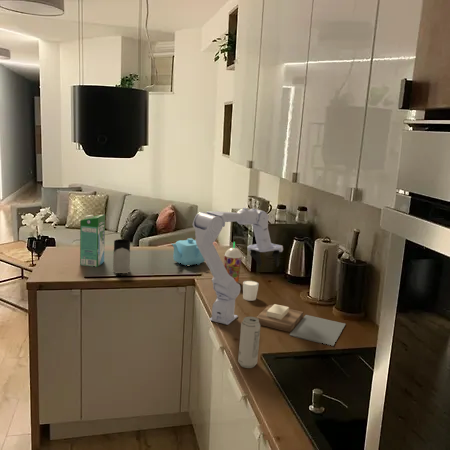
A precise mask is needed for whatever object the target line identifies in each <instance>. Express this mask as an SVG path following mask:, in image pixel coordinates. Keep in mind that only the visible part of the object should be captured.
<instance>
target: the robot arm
mask: <svg viewBox="0 0 450 450" xmlns="http://www.w3.org/2000/svg"><path fill="white" fill-rule="evenodd" d="M269 217H270V216H269V214H268V213H267V212H266V211H264V210H261V209H258V208H254V207H253V208H250V209H248V208H246V207H242V208H241V209H238V210H237V212H232V211H218V210H216V211H210V210H207V211H200V212H198V213H196V215H195V217H194V219H193V221H192V225H191V226H192V227H193V229H194V233H195V240H196V244H197V247H198V248H199V250H200V252H201V254H202V256H203V258H204V260H205V261H204V263H206V266H207V268H208V269H209V270H210V271H209V272H210V273H211V275H212V279H211V282H212V288H213V290H214V292H215V295H216V299H215V301H214V302H213V303H212V308H211V309H212V310H211V317H210V318H209V321H211V322H216V323H220V324H223V325H227V326H228V325H230V324H231V323H232V322H233V321H234V320H236V319H237V318H238V317H239V316H238V315H237V314H235V309H236V308H235V307H236V299H237V298H238V296H239V295H240V293H241V285H240V283H238V282H236V281H235V279H234V278H232V277H231V276H230V275H229V274H228V272H227V270H226V268H225V266H224V263H223V262H224V261H223V260H222V259H221V256H220V254H219V252H218V250H217V249H216V247H215V244H214V243H215V242H216V240H217V238H218V236H219V235H220V233H221V231H222V230H223V228H224V227H225V225H226V223H232V222H236V223H237V224H238V225H241V226H242V225H252V229H253V233H254V237H255V242H256V243H253V244H249V245H248V246H247V252H250V254H249V255H250V257H252V258H253V260H254V261H255V262H256V264H257V265H258V267H261V266H262V265H263V263H262V258H261V253H266V252H273V253H272V255H271V256H272V258H273V260H274V263H275V266H276V267H275V268H278V267H279V266H280V256H281V254H282V253H283V251H284V246H283V245H281V244H276V243H272V241H271V237H270V231H269V223H268V222H269V219H270V218H269Z"/></svg>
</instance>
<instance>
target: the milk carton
mask: <svg viewBox="0 0 450 450" xmlns="http://www.w3.org/2000/svg"><path fill="white" fill-rule="evenodd" d="M79 222H80V224H79V225H80V226H79V227H80V229H79V231H80V232H79V237H80V238H79V239H80V240H79V246H80V247H79V265H80V266H84V267H93V266H95V267H94V268H98V267H99V266H101V265H102V264H104V263H105V244H106V243H105V241H106V239H105V236H106V230H105V229H106V214H99V215H94V214H89V215H85V218H83V219H80V221H79ZM103 262H104V263H103Z"/></svg>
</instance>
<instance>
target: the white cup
mask: <svg viewBox="0 0 450 450" xmlns="http://www.w3.org/2000/svg"><path fill="white" fill-rule="evenodd" d="M258 291H259V282H257V281H256V280H255V281H254V280H243V282H242V299H243V300H245V301H248V302H249V301H250V302H251V301H253V302H254V301H256V300H257V297H258Z"/></svg>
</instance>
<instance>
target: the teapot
mask: <svg viewBox="0 0 450 450" xmlns="http://www.w3.org/2000/svg"><path fill="white" fill-rule="evenodd" d="M170 245H171V246H172V247H173V257H172V258H173V261H174V262H176V263H178V264H180V263H181V264H180V265H184V266H186V265H191V266H193V265H196V264H197V265H196V266H199V265H201V264H202V263H203V264H204V263H205V260H204V258H203V256H202V254H201V252H200V250H199V248H198V247H197V244H196V239H193V238H192V237H190V238H188V237H187V239H184V240H183V239H182V240H181V239H180V240H177V241H176V242H175V243H170Z"/></svg>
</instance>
